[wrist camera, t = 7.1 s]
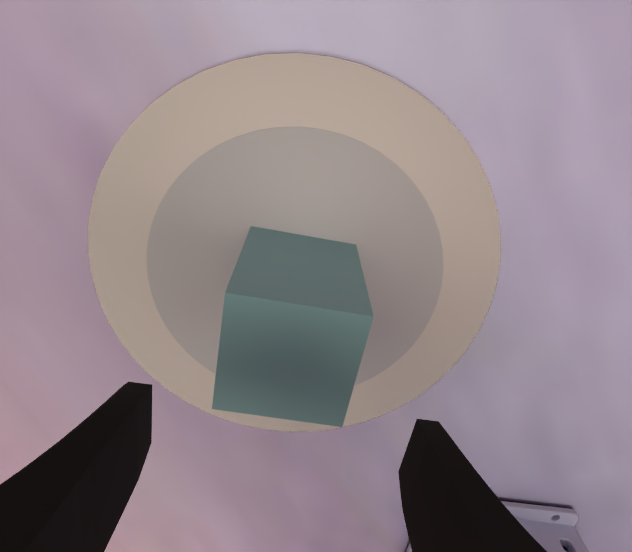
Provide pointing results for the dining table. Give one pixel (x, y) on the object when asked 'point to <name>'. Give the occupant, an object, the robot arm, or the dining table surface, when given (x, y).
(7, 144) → the dining table surface
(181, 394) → the serving plate
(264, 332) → the teal block
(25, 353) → the dining table surface
